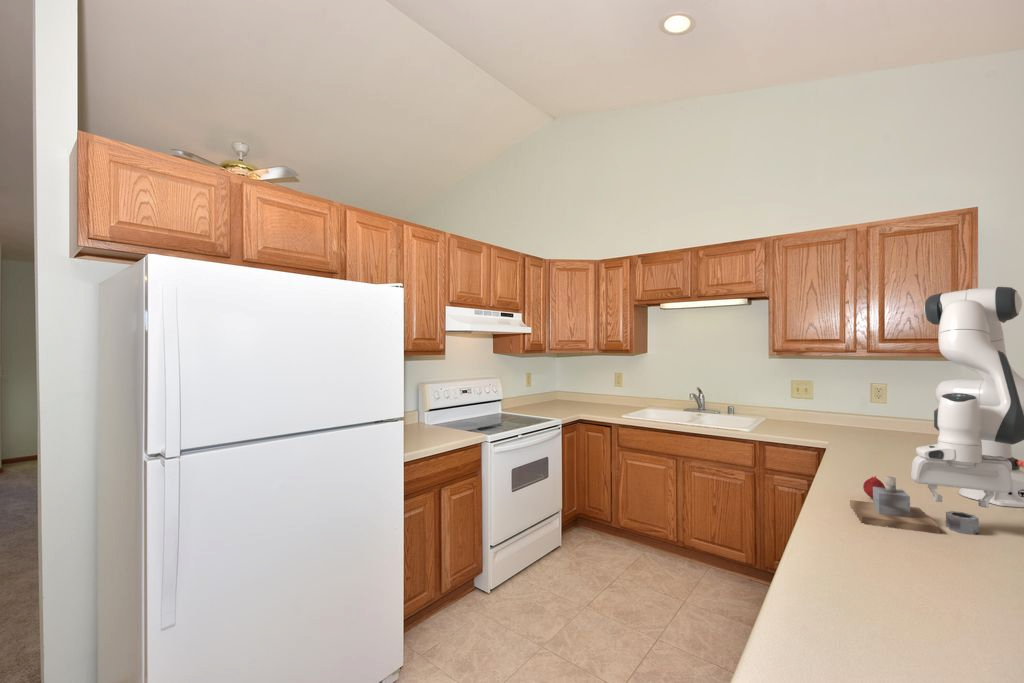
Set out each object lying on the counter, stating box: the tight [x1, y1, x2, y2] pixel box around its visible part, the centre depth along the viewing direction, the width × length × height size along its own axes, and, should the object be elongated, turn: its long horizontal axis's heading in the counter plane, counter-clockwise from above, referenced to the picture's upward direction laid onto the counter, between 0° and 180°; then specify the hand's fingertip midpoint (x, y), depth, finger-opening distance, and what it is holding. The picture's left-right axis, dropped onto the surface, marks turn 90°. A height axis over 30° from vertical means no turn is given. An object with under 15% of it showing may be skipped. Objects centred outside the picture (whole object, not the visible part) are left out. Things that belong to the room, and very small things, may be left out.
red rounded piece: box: [862, 474, 885, 500], centre depth 153 cm, size 6×6×8 cm
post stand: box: [849, 476, 941, 534], centre depth 136 cm, size 17×16×12 cm
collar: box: [945, 510, 980, 535], centre depth 127 cm, size 6×6×4 cm
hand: (960, 503), depth 127 cm, fingers open, 8 cm apart
